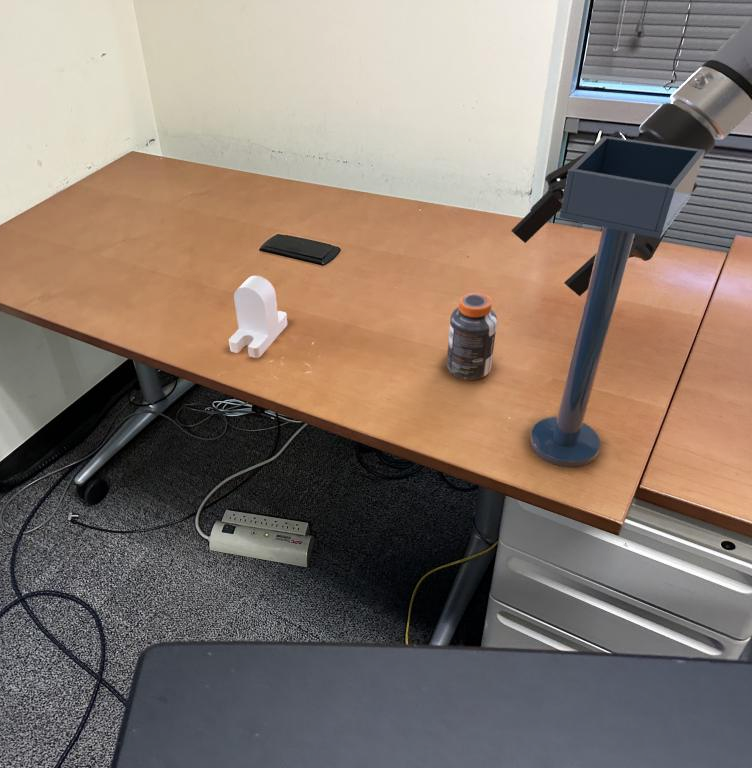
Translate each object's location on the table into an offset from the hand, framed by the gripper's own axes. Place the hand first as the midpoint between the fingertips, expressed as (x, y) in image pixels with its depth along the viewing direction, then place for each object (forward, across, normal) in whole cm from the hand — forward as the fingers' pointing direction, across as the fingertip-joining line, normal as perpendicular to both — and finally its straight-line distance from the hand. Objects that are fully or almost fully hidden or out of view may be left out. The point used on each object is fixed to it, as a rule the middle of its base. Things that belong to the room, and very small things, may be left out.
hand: (543, 262), depth 86 cm
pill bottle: (+17, 0, +5) cm, 17 cm away
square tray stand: (+13, +17, +8) cm, 23 cm away
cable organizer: (+36, -16, -14) cm, 42 cm away
